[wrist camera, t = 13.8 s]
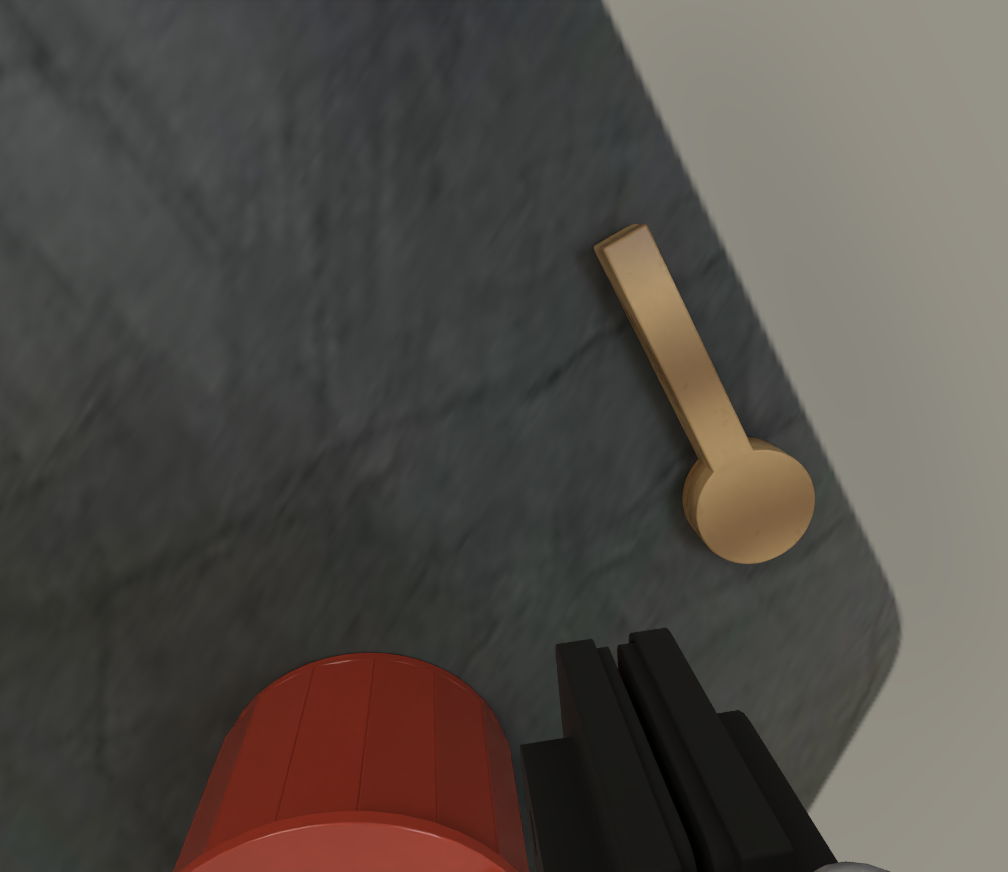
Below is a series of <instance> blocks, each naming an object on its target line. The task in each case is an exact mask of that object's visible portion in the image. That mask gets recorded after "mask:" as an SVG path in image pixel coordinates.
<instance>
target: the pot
mask: <svg viewBox="0 0 1008 872" xmlns="http://www.w3.org/2000/svg"><path fill="white" fill-rule="evenodd" d="M340 810H364V811H380V812H389V813H397V814H404V815H408V816H412V817H417V818H421V819H425V820H430V821H433V822H436V823H438V824H441V825H444V826H447V827H450V828H452V829H455V830H457V831H459V832H461V833H463V834H465V835H467V836H469V837H471V838H473V839H475V840H477V841H479V842H481V843H483V844H484V845H486V846H487V847H488V848H490V849H491V850H493V851H494V852H496V853H497V854H499V855H500V856H502V857H503V858H504V859H505V860H506V861H507V862H508V863H509V864H510V865H512V866H513V867H514V868H515V869H516V870H517V871H518V872H529V869H528V863H527V856H526V850H525V843H524V837H523V830H522V824H521V817H520V811H519V804H518V798H517V791H516V785H515V778H514V772H513V766H512V759H511V753H510V746H509V743H508V740H507V739H506V737H505V735H504V732H503V729H502V727H501V725H500V723H499V721H498V719H497V718H496V716H495V714H494V712H493V711H492V710H491V709H490V707H489V706H488V705H487V703H486V702H485V701H484V700H483V699H482V698H481V697H480V696H479V695H478V694H477V693H476V692H475V691H474V690H473V689H472V688H471V687H470V686H468V685H467V684H466V683H464V682H463V681H462V680H460V679H459V678H458V677H456V676H454V675H453V674H451V673H449V672H447V671H445V670H444V669H442V668H440V667H437V666H435V665H432V664H430V663H427V662H425V661H421V660H418V659H414V658H410V657H407V656H401V655H394V654H388V653H354V654H344V655H339V656H334V657H329V658H325V659H322V660H318V661H315V662H312V663H309V664H306V665H304V666H302V667H300V668H298V669H295V670H293V671H291V672H289V673H287V674H286V675H284V676H282V677H281V678H279V679H277V680H276V681H274V682H273V683H271V684H270V685H269V686H268V687H266V688H265V689H264V690H263V691H261V692H260V693H259V694H258V695H257V696H256V697H255V698H254V699H253V700H252V701H251V702H250V703H249V704H248V705H247V706H246V707H245V709H244V710H243V712H242V713H241V714H240V716H239V717H238V719H237V720H236V721H235V723H234V725H233V727H232V729H231V730H230V731H229V733H228V734H227V735H226V737H225V739H224V741H223V744H222V746H221V749H220V751H219V754H218V757H217V759H216V762H215V764H214V767H213V770H212V772H211V775H210V777H209V780H208V783H207V785H206V788H205V790H204V793H203V795H202V798H201V801H200V803H199V806H198V808H197V811H196V814H195V816H194V819H193V821H192V824H191V827H190V829H189V832H188V834H187V837H186V840H185V842H184V845H183V847H182V850H181V852H180V855H179V858H178V860H177V863H176V865H175V868H174V871H173V872H180V871H181V870H182V869H183V868H185V867H186V866H187V865H189V864H190V863H191V862H192V861H194V860H195V859H196V858H198V857H199V856H200V855H202V854H204V853H205V852H207V851H209V850H210V849H212V848H214V847H215V846H217V845H219V844H220V843H222V842H224V841H225V840H228V839H230V838H232V837H234V836H237V835H239V834H241V833H243V832H246V831H248V830H250V829H252V828H256V827H259V826H262V825H265V824H268V823H271V822H274V821H278V820H281V819H285V818H290V817H295V816H300V815H305V814H310V813H319V812H329V811H340Z"/></svg>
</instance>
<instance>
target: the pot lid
mask: <svg viewBox="0 0 1008 872" xmlns="http://www.w3.org/2000/svg"><path fill="white" fill-rule="evenodd" d="M180 872H518V871H517V870H516V869H515V868H514V867H513V866H512V865H510V864H509V863H508V862H507V861H506V860H505V859H504V858H503V857H502V856H500V855H499V854H497V853H496V852H494V851H493V850H491V849H490V848H488V847H487V846H486V845H484V844H483V843H481V842H479V841H477V840H475V839H473V838H471V837H469V836H467V835H465V834H463V833H461V832H459V831H457V830H455V829H452V828H450V827H447V826H444V825H441V824H438V823H436V822H433V821H430V820H425V819H421V818H417V817H412V816H408V815H404V814H397V813H389V812H380V811H364V810H340V811H329V812H319V813H310V814H305V815H300V816H295V817H290V818H285V819H281V820H278V821H274V822H271V823H268V824H265V825H262V826H259V827H256V828H252V829H250V830H248V831H246V832H243V833H241V834H239V835H237V836H234V837H232V838H230V839H228V840H225V841H224V842H222V843H220V844H219V845H217V846H215V847H214V848H212V849H210V850H209V851H207V852H205V853H204V854H202V855H200V856H199V857H198V858H196V859H195V860H194V861H192V862H191V863H190V864H189V865H187V866H186V867H185V868H183V869H182V870H181V871H180Z"/></svg>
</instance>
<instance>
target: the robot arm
mask: <svg viewBox="0 0 1008 872" xmlns="http://www.w3.org/2000/svg"><path fill="white" fill-rule="evenodd" d="M617 656H618V668H617V666H616V664H615V661H614V659H613V656H612V654H611V652H610V649H609V648H608V647H602V648H596V646H595V643H594V641H593V640H592V639H588V640H581V641H575V642H568V643H561V644H556V662H557V673H558V684H559V695H560V705H561V716H562V727H563V738H561V739H555V740H549V741H543V742H536V743H530V744H524V745H520V752H521V762H522V771H523V779H524V788H525V796H526V803H527V811H528V817H529V824H530V831H531V837H532V844H533V850H534V856H535V861H536V867H537V872H890V871H887V870H884V869H881V868H878V867H875V866H872V865H869V864H863V863H854V862H840V863H838V861H837V860H836V858H835V857H834V855H833V853H832V852H831V850H830V849H829V847H828V845H827V844H826V842H825V841H824V839H823V837H822V836H821V834H820V833H819V831H818V829H817V828H816V826H815V825H814V823H813V822H812V820H811V818H810V817H809V815H808V813H807V812H806V810H805V809H804V807H803V805H802V804H801V802H800V801H799V799H798V797H797V796H796V794H795V793H794V791H793V789H792V788H791V786H790V785H789V783H788V781H787V780H786V778H785V776H784V775H783V773H782V772H781V770H780V768H779V767H778V765H777V764H776V762H775V760H774V759H773V757H772V756H771V754H770V752H769V751H768V749H767V748H766V746H765V744H764V743H763V741H762V740H761V738H760V736H759V735H758V733H757V732H756V730H755V728H754V727H753V725H752V724H751V722H750V720H749V719H748V718H747V717H746V715H745V714H744V713H743V712H741V711H739V710H736V711H730V712H724V713H718V714H717V713H716V711H715V710H714V708H713V706H712V704H711V703H710V701H709V699H708V697H707V696H706V694H705V692H704V690H703V688H702V687H701V685H700V683H699V681H698V680H697V678H696V676H695V674H694V673H693V671H692V669H691V667H690V666H689V664H688V662H687V660H686V659H685V657H684V655H683V653H682V652H681V650H680V648H679V646H678V645H677V643H676V641H675V639H674V638H673V636H672V634H671V632H670V631H669V630H668V629H667V628H661V629H654V630H648V631H641V632H634V633H630V635H629V644H622V645H618V649H617Z"/></svg>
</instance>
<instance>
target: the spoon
mask: <svg viewBox="0 0 1008 872" xmlns="http://www.w3.org/2000/svg"><path fill="white" fill-rule="evenodd" d="M594 251H595V253H596V255H597V257H598V259H599V261H600V263H601V265H602V267H603V269H604V271H605V273H606V275H607V277H608V279H609V281H610V283H611V285H612V287H613V289H614V291H615V293H616V295H617V297H618V299H619V301H620V303H621V305H622V307H623V309H624V311H625V313H626V315H627V317H628V319H629V321H630V323H631V325H632V327H633V329H634V331H635V333H636V335H637V337H638V339H639V341H640V343H641V345H642V347H643V349H644V351H645V353H646V355H647V357H648V359H649V361H650V363H651V365H652V367H653V369H654V371H655V373H656V375H657V377H658V379H659V381H660V383H661V385H662V387H663V389H664V391H665V393H666V395H667V397H668V399H669V401H670V403H671V405H672V407H673V409H674V411H675V413H676V415H677V417H678V419H679V421H680V423H681V425H682V427H683V429H684V431H685V433H686V435H687V437H688V439H689V441H690V443H691V445H692V447H693V449H694V451H695V453H696V455H697V457H698V460H697V461H696V463H695V464H694V465H693V467H692V468H691V470H690V472H689V474H688V476H687V478H686V481H685V485H684V489H683V509H684V513H685V516H686V518H687V521H688V522H689V524H690V526H691V527H692V528H693V530H694V531H695V532H696V533H697V534H698V536H699V537H700V538H701V539H702V540H703V541H704V543H705V544H706V545H707V546H708V547H709V549H711V550H712V551H713V552H714V553H715V554H717V555H718V556H720V557H721V558H724V559H726V560H728V561H732V562H736V563H742V564H753V563H760V562H765V561H768V560H771V559H773V558H775V557H777V556H779V555H781V554H783V553H784V552H786V551H787V550H788V549H790V548H791V547H792V546H793V545H794V544H795V543H796V542H797V541H798V540H799V539H800V538H801V537H802V535H803V534H804V532H805V531H806V529H807V527H808V525H809V523H810V521H811V518H812V515H813V511H814V506H815V492H814V487H813V483H812V481H811V478H810V476H809V474H808V472H807V471H806V470H805V468H804V467H803V466H802V465H801V464H800V463H799V462H798V461H797V460H795V459H794V458H793V457H791V456H790V455H788V454H787V453H785V452H784V451H782V450H781V449H779V448H778V447H776V446H775V445H773V444H771V443H769V442H767V441H765V440H762V439H758V438H750V437H747V436H746V434H745V432H744V430H743V428H742V425H741V423H740V421H739V419H738V417H737V415H736V413H735V411H734V408H733V406H732V404H731V402H730V400H729V398H728V396H727V394H726V391H725V389H724V387H723V385H722V383H721V381H720V379H719V377H718V374H717V372H716V370H715V368H714V366H713V364H712V362H711V360H710V358H709V355H708V353H707V351H706V349H705V347H704V345H703V343H702V341H701V338H700V336H699V334H698V332H697V330H696V328H695V326H694V324H693V321H692V319H691V317H690V315H689V313H688V311H687V309H686V307H685V305H684V302H683V300H682V298H681V296H680V294H679V292H678V290H677V288H676V285H675V283H674V281H673V279H672V277H671V275H670V273H669V271H668V268H667V266H666V264H665V262H664V260H663V258H662V256H661V254H660V251H659V249H658V247H657V245H656V243H655V241H654V239H653V237H652V235H651V232H650V230H649V228H648V226H647V225H646V224H631V225H630V226H628V227H626V228H624V229H623V230H621V231H619V232H617V233H616V234H614V235H612V236H610V237H609V238H607V239H605V240H603V241H602V242H600V243H598V244H597V245H595V246H594Z"/></svg>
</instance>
